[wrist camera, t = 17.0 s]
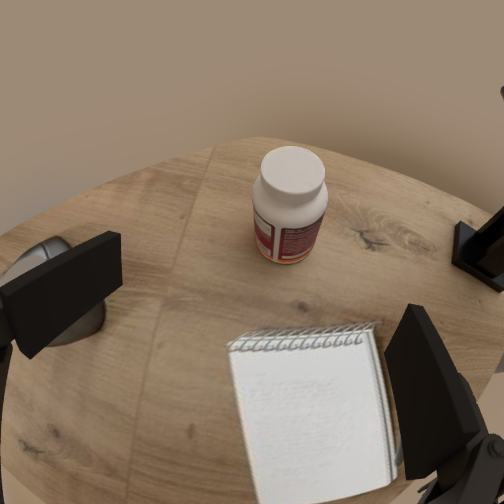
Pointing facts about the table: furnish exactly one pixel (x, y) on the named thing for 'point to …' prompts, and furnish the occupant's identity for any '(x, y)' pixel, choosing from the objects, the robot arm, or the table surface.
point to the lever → (502, 92)
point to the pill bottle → (289, 203)
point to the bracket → (482, 251)
